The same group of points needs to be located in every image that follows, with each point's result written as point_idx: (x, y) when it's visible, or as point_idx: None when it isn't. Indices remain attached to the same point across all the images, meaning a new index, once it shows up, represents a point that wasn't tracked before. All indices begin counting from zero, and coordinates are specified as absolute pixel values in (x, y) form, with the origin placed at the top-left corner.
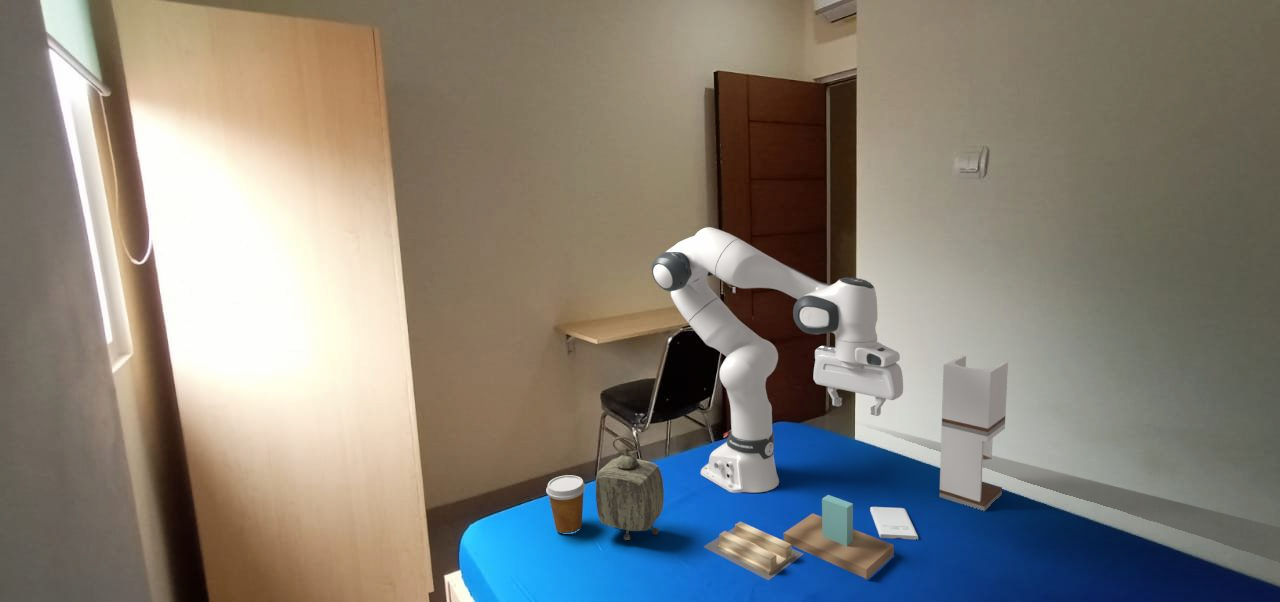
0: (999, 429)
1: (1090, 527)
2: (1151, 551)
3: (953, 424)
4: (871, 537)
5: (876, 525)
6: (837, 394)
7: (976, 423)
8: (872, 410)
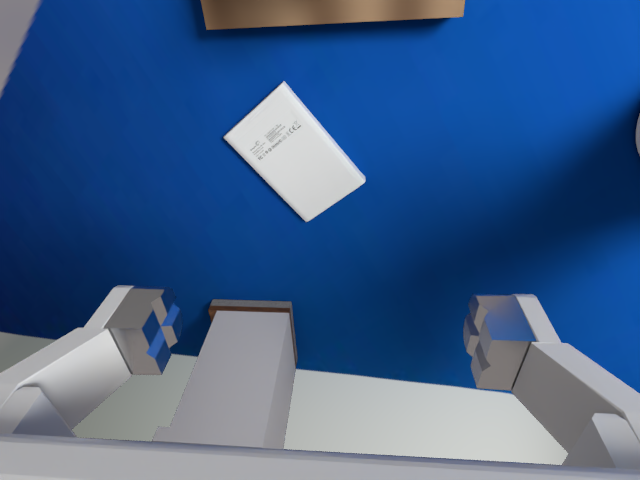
0: None
1: None
2: (21, 321)
3: None
4: (265, 20)
5: (314, 119)
6: (535, 413)
7: None
8: (135, 308)
